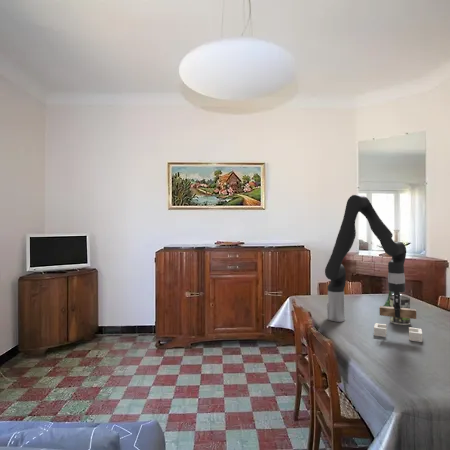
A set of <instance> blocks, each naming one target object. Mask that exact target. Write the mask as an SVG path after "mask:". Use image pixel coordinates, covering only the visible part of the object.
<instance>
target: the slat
mask: <svg viewBox="0 0 450 450" xmlns="http://www.w3.org/2000/svg"><path fill="white" fill-rule="evenodd" d="M379 316H381V317H382V316H384V317H390V316H391V317H395V309H394V307H387V306H384V305H379ZM400 317H401V318H410V320H411V319H412V320H417V309H416V308H410V309H409V308H400Z"/></svg>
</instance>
